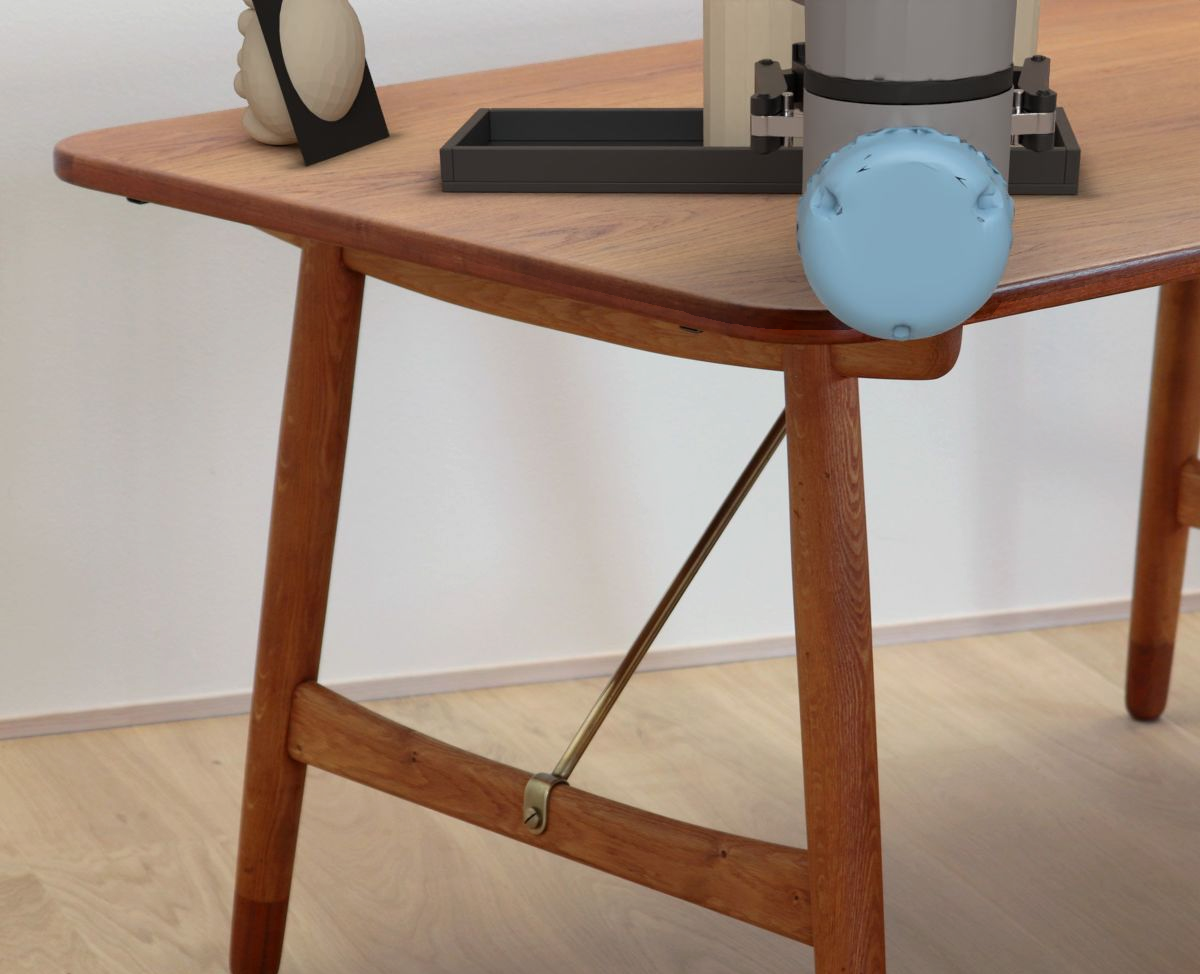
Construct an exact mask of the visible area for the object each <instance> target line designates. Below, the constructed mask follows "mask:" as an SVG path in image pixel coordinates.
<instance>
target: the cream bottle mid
mask: <svg viewBox="0 0 1200 974" xmlns="http://www.w3.org/2000/svg"><path fill="white" fill-rule="evenodd" d="M798 42H805V6H803V5H800V4H798V3H795V2H793V1H791V0H702V79H703V80H702V88H703V89H702V91H703V92H702V93H703V94H702V96H703V98H702V99H703V105H702V108H703V131H704V147H750V135H751V134H750V114H751V113H750V97H751V96H752V95H754V94H755V62H758V61H759V60H762V59H772V61H777V62H779V64H780V67H781V69H782V70H785V69H790V68H792V44H793V43H798ZM792 147H803V138H799V137H793V146H792Z"/></svg>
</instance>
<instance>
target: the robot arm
mask: <svg viewBox="0 0 1200 974" xmlns="http://www.w3.org/2000/svg"><path fill="white" fill-rule="evenodd" d="M791 1H793V2H795V3H798V4H800V5H803V6H805V42H798V43H793V44H792V68H790V69H785V70H782V69H781V67H780V64H779V62H777V61H772V59H762V60H759V61H758V62H755V94H754V95H752V96H751V97H750V113H751V114H750V134H751V135H750V151H751V152H754V153H758V154H759V155H767V154H769V153H771V152H775V151H777V150H778V149H780V148H781V147H784V148H789V147H792V146H793V137H799V138H803V187H802V193H801V196H800V197H799V198H798V203H797V210H796V245H797V252H798V256H799V257H800V261H801V265H802V268H803V271H804V274H805V277H806V280H807V283H808V284H809V286H810V288H811V289H812V291H813V293H814V295H815V296H816V298H817V299H818V300H819V302H820V303H821V304H822V305H823V306H824V307H825V309H827V311H829V313H831V314H832V315H833V316H834V318H836V319H838V320H839V321H840V322H842V323H843V324H845V325H846V326H848V327H850V328H851V329H854V330H856V331H857V332H860V333H862V334H865V335H867V336H870V337H874V338H878V339H882V340H883V339H884V340H891V341H898V342H899V341H900V342H905V341H910V340H920V339H926V338H930V337H934V336H937V335H941V334H943V333H946V332H948V331H950V330H952V329H954V328H956V327H958V326H960V325H961V324H962V323H965V321H967V320H968V319H970V318H971V317H972V316H973V315H975V314H976V312H978V311H979V310H980V309H981V308H982V307H983V306H984V305H985V304H987V302H988V301H989V299H990V298H991V297H992V296H993V294H994V293H995V291H996V289H997V288H998V286H999V284H1000V283H1001V281H1002V279H1003V277H1004V274H1005V271H1006V268H1007V267H1008V266H1007V265H1008V262H1009V258H1010V253H1011V251H1012V246H1013V243H1014V238H1015V237H1014V232H1013V224H1014V219H1015V213H1016V210H1015V202H1014V198H1013V196H1010V194H1008V177H1009V160H1010V145H1014V146H1018V145H1022V146H1023V147H1025V148H1026V149H1028V150H1033V151H1034V152H1038V153H1041V152H1045V151H1048V150H1052V149H1053V148H1054V134H1055V132H1054V131H1055V119H1056V107H1057V101H1058V93H1057V91H1055V90H1053V89H1051V88H1050V75H1051V62H1052V61H1051V58H1050V57H1047V56H1046V55H1043V54H1037V55H1033V57H1029V58H1026V59H1025V61H1024V64H1023V67H1022V66H1014V64H1013V49H1014V35H1015V22H1016V9H1017V0H791Z"/></svg>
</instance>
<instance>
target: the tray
mask: <svg viewBox="0 0 1200 974" xmlns="http://www.w3.org/2000/svg"><path fill="white" fill-rule="evenodd" d="M1054 132H1055V134H1054V148H1053V149H1052V150H1048V151H1045V152H1041V153H1038V152H1034V151H1033V150H1028V149H1026V148H1025V147H1010V160H1009V177H1008V194H1009V195H1078V193H1079V192H1078V191H1079V181H1080V168H1081V156H1082V155H1081V154H1082V149H1081V147H1080V145H1079V143H1078V140H1077V138H1076V135H1075V133H1074V130H1073V128H1072V125H1071V124H1070V121H1069V118H1068V116H1067V114H1066V110H1065V108H1064V107H1063V106H1056V119H1055V131H1054ZM438 152H439V165H440V166H439V167H440V180H441V182H440V183H441V192H443V193H625V194H626V193H628V194H629V193H633V194H634V193H638V194H639V193H641V194H642V193H643V194H646V193H647V194H649V193H651V194H653V193H655V194H658V193H659V194H661V193H662V194H663V193H664V194H675V193H676V194H802V187H803V147H789V148H784V147H781V148H780V149H778V150H777V151H775V152H771V153H769V154H767V155H759V154H758V153H754V152H751V151H750V147H704V131H703V107H491V108H490V107H480V108H478V109H477V110H476V111H475V112H474V113H473V114H472V115H471V116H470V117H469V119H468V120H467V121H466V122H464V123H463V125H461V126H460V128H458V130H456V132H454V134H453V135H452V136H451V137H450V138H449V139H448V140H447V141H446V142H445V143H444V144H443V145H442V146H441V147H440V148H439V151H438Z"/></svg>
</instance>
